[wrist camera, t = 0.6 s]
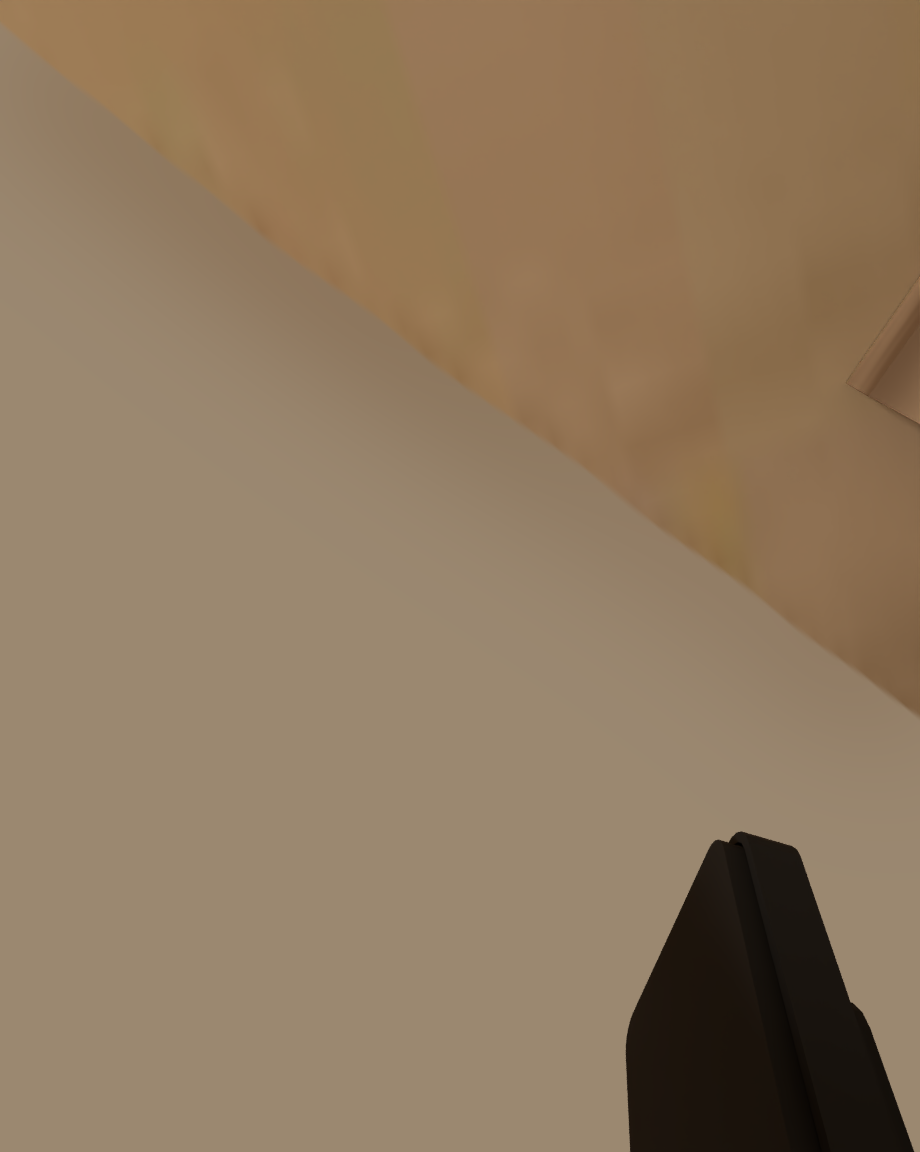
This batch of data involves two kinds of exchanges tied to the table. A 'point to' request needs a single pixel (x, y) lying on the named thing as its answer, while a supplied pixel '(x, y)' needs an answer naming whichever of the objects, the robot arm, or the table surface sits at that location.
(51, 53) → the table surface
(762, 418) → the table surface
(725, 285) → the table surface
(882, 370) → the jig
